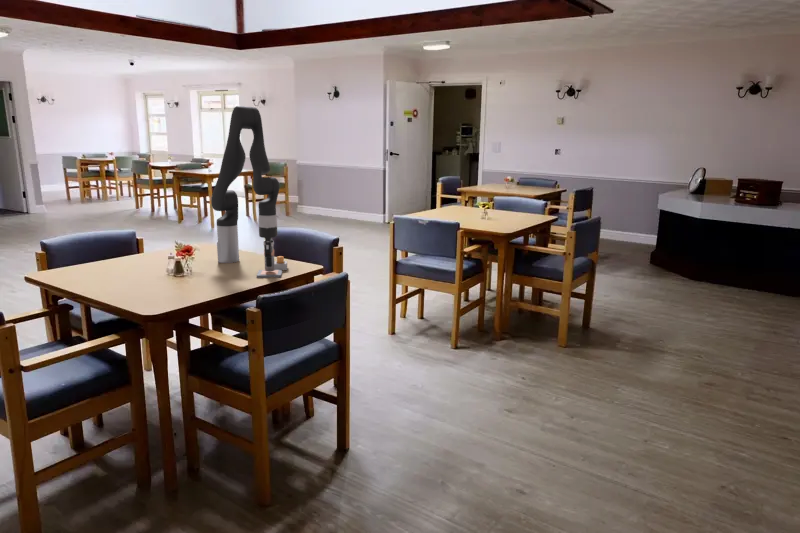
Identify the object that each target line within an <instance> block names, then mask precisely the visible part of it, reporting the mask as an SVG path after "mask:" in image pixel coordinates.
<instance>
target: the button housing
mask: <svg viewBox="0 0 800 533" xmlns="http://www.w3.org/2000/svg"><path fill="white" fill-rule="evenodd" d="M274 265H275V270H287V271H288V261H287V260H284V263H280V264H277V260H274Z"/></svg>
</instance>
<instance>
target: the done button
mask: <svg viewBox="0 0 800 533" xmlns="http://www.w3.org/2000/svg"><path fill="white" fill-rule="evenodd" d="M284 257H285V256H282V255H279V256H276V261H277V264H280V263H284V261H285V260H284V259H285V258H284Z"/></svg>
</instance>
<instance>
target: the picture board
mask: <svg viewBox="0 0 800 533" xmlns="http://www.w3.org/2000/svg"><path fill="white" fill-rule="evenodd" d="M282 275H283V271H282V270H275V271H265V269H258V271H257V274H256V279H261V278H262V279H264V278H265V279H267V278H269V277H275V278H282ZM269 279H270V278H269Z"/></svg>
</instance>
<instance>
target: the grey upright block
mask: <svg viewBox="0 0 800 533" xmlns="http://www.w3.org/2000/svg"><path fill="white" fill-rule="evenodd" d="M263 255H264V270H265V271H275V265H274V261H275V249H273V252H272V266H271V267H267V266H266V258H265V252H264V251H263ZM267 255H270V253H267Z"/></svg>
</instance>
